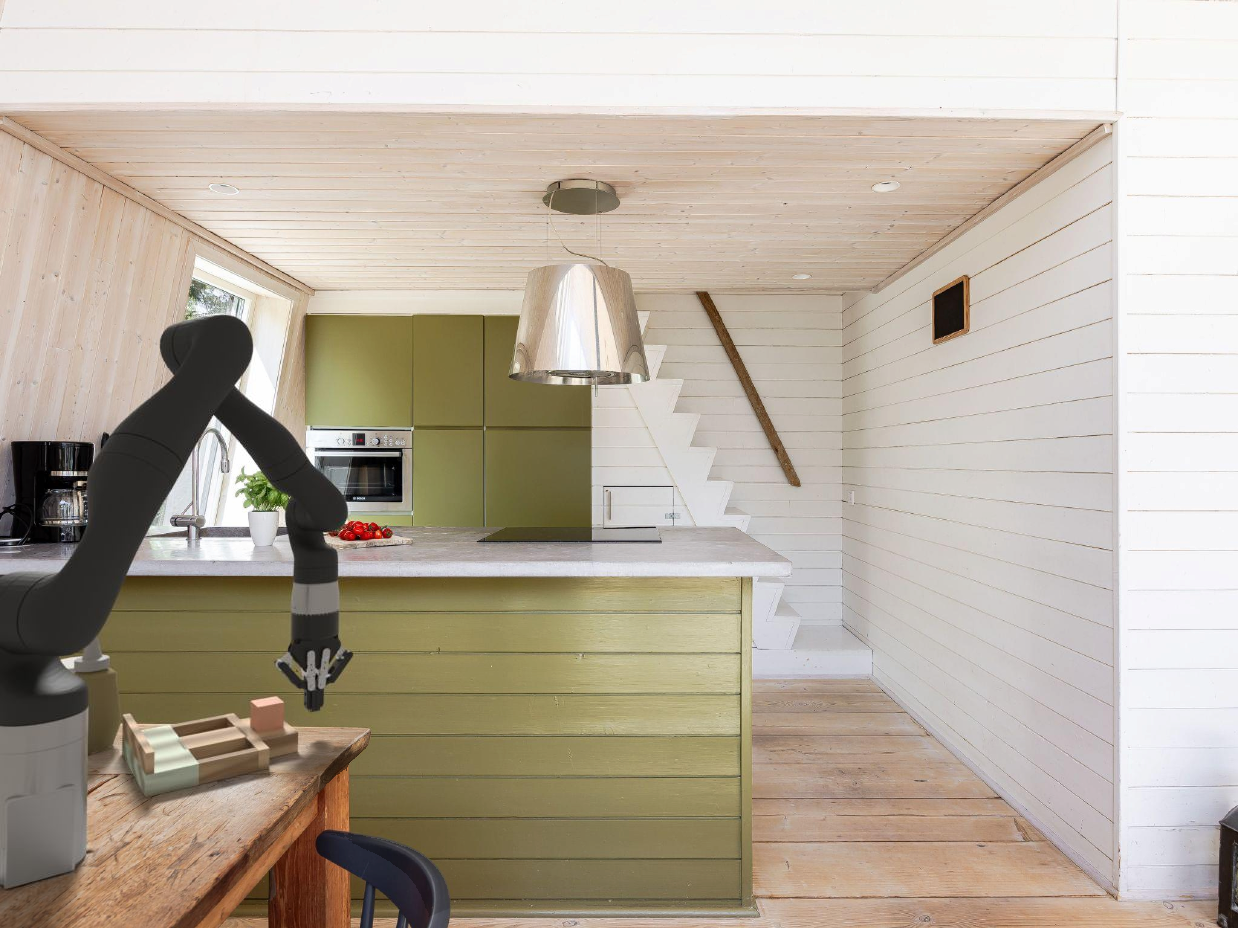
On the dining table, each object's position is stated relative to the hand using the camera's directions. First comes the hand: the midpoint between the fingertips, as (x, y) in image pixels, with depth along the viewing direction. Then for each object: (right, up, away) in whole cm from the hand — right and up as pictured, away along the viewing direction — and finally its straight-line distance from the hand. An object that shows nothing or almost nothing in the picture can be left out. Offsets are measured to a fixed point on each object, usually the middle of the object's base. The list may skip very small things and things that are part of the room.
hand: (313, 710), depth 129 cm
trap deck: (-12, -4, -10) cm, 16 cm away
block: (-6, -1, -5) cm, 8 cm away
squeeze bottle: (-32, -4, -8) cm, 33 cm away
